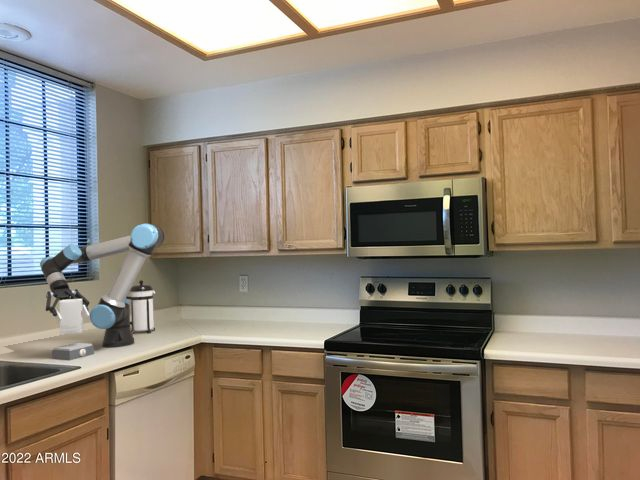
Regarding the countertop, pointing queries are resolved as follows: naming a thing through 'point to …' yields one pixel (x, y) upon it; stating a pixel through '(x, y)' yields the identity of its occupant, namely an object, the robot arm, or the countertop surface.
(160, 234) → the robot arm
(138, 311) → the coffee press
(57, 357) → the kitchen scale
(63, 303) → the supplement box
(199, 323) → the countertop surface
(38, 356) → the countertop surface
